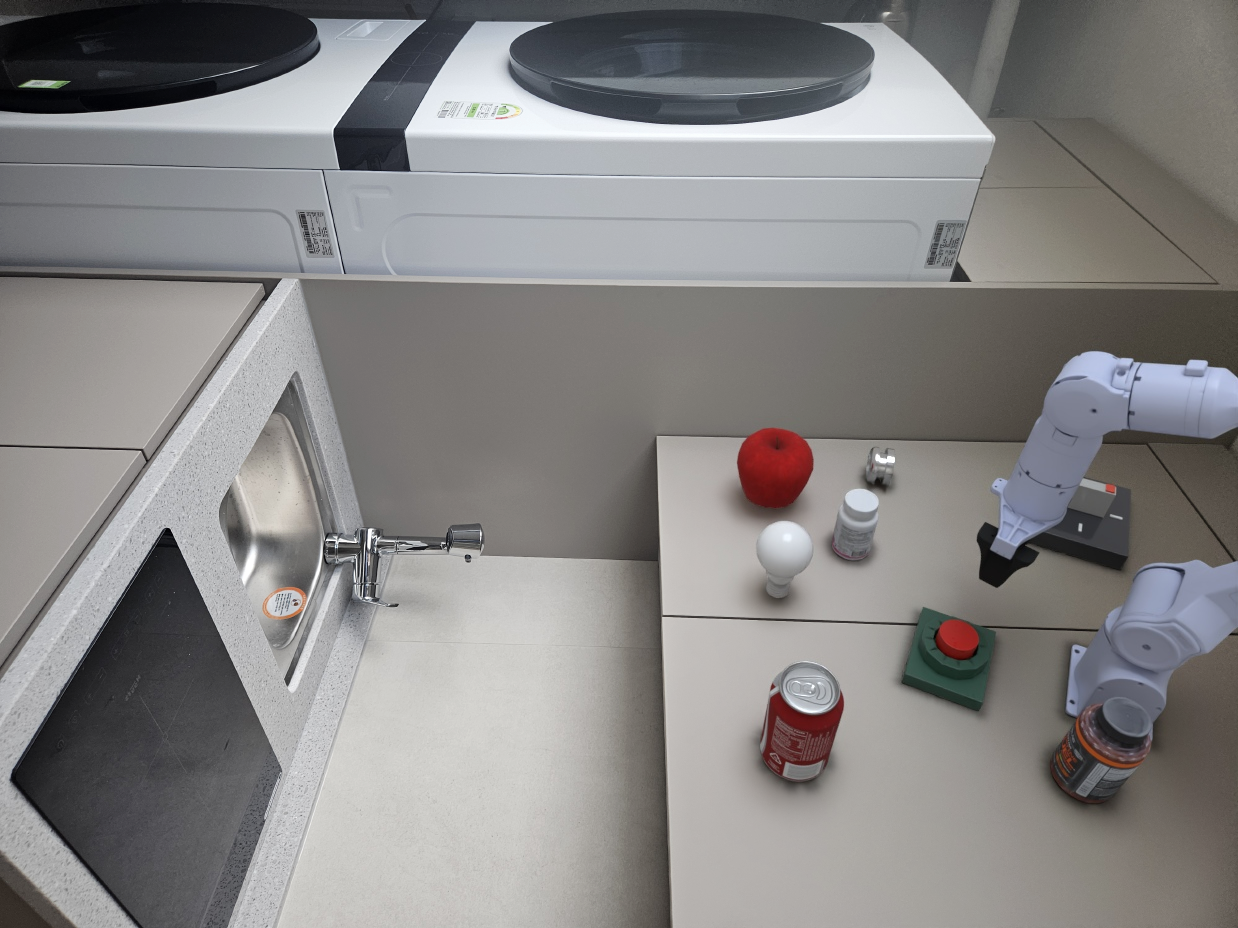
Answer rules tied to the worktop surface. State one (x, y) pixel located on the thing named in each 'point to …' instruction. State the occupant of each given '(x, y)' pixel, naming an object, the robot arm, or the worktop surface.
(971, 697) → the button block
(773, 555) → the lightbulb
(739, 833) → the worktop surface
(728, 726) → the worktop surface
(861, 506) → the pill bottle
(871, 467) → the grooved metal pulley
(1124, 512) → the block
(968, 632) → the button
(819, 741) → the soda can
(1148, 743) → the supplement bottle
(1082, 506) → the knob
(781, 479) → the apple
